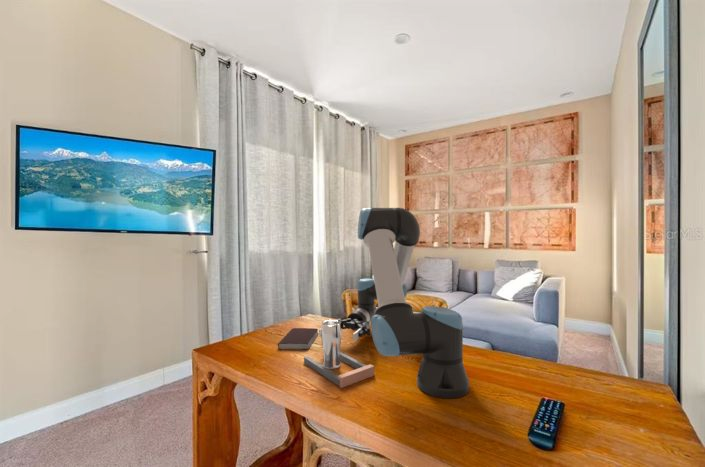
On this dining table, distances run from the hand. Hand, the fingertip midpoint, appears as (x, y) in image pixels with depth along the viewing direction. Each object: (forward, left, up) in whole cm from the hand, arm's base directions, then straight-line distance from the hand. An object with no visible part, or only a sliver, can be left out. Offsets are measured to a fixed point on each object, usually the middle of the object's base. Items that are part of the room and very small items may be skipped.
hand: (336, 335), depth 117 cm
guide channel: (-7, +4, -9) cm, 12 cm away
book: (+26, +1, -10) cm, 28 cm away
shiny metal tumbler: (-3, +4, -9) cm, 10 cm away
